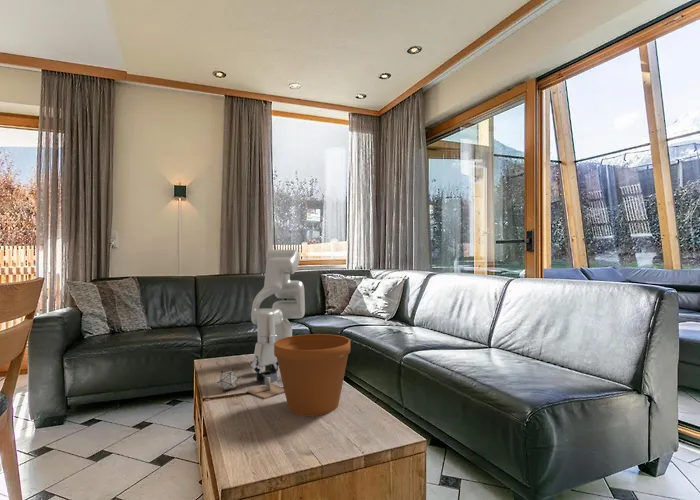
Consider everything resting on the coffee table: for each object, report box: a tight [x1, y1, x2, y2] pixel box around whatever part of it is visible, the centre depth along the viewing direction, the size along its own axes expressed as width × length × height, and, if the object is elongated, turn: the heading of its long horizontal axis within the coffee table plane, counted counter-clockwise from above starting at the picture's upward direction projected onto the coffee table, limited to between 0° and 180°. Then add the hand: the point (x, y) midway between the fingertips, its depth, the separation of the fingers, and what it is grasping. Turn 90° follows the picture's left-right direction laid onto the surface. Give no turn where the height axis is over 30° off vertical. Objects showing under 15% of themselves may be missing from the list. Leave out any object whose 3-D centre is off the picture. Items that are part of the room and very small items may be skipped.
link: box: [255, 370, 278, 385], centre depth 174 cm, size 6×6×4 cm
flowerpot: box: [274, 333, 352, 417], centre depth 145 cm, size 28×28×24 cm
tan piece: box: [246, 377, 285, 400], centre depth 160 cm, size 12×12×6 cm
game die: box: [216, 368, 241, 392], centre depth 164 cm, size 9×8×10 cm
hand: (266, 379), depth 174 cm, fingers closed on link, 6 cm apart
